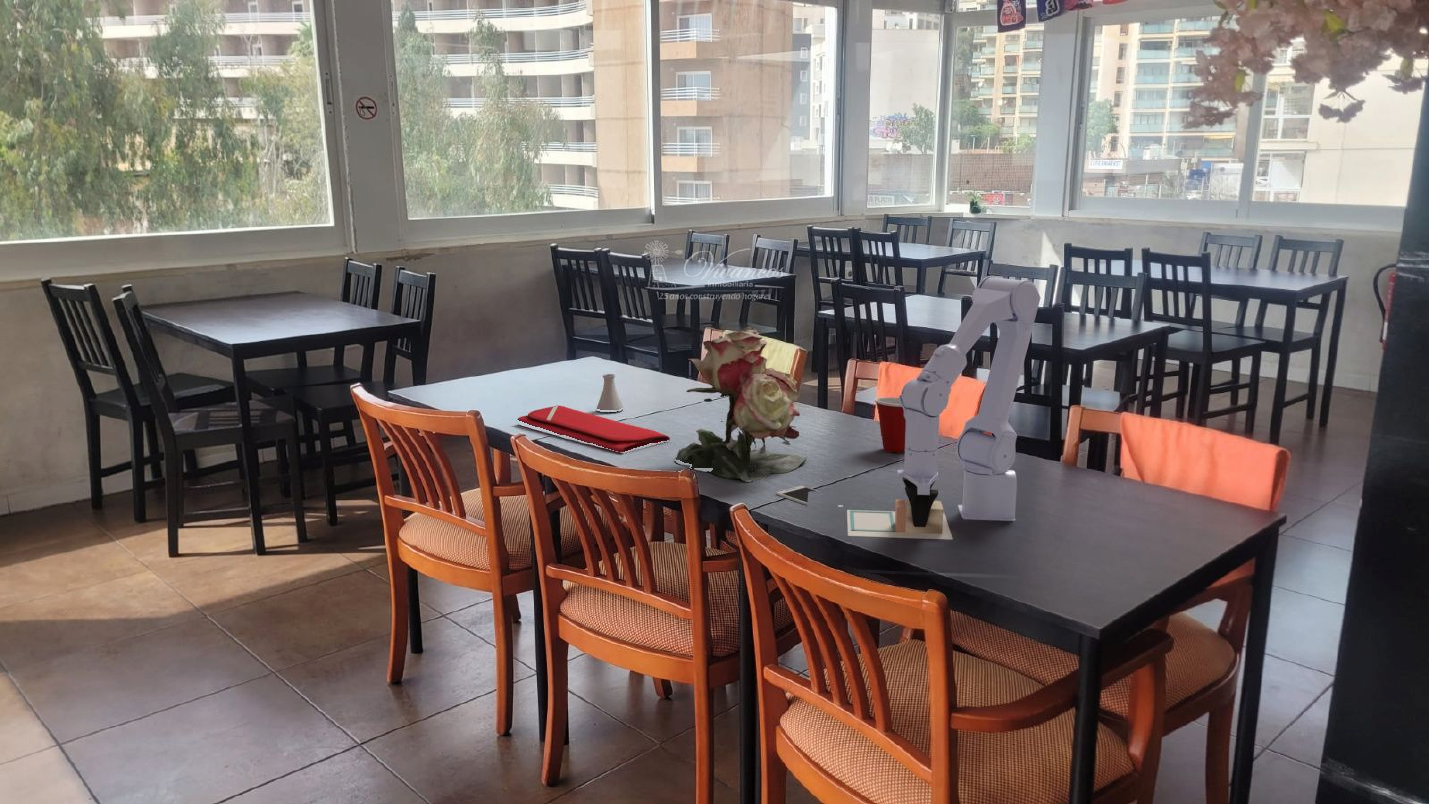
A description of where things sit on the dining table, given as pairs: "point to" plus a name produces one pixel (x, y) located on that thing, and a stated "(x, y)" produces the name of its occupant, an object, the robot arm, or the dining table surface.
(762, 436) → the rose bouquet
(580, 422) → the dish drying mat
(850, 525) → the mat
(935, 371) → the robot arm
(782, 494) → the smartphone
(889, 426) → the plastic cup
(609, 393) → the flask
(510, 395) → the dining table surface
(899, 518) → the block
